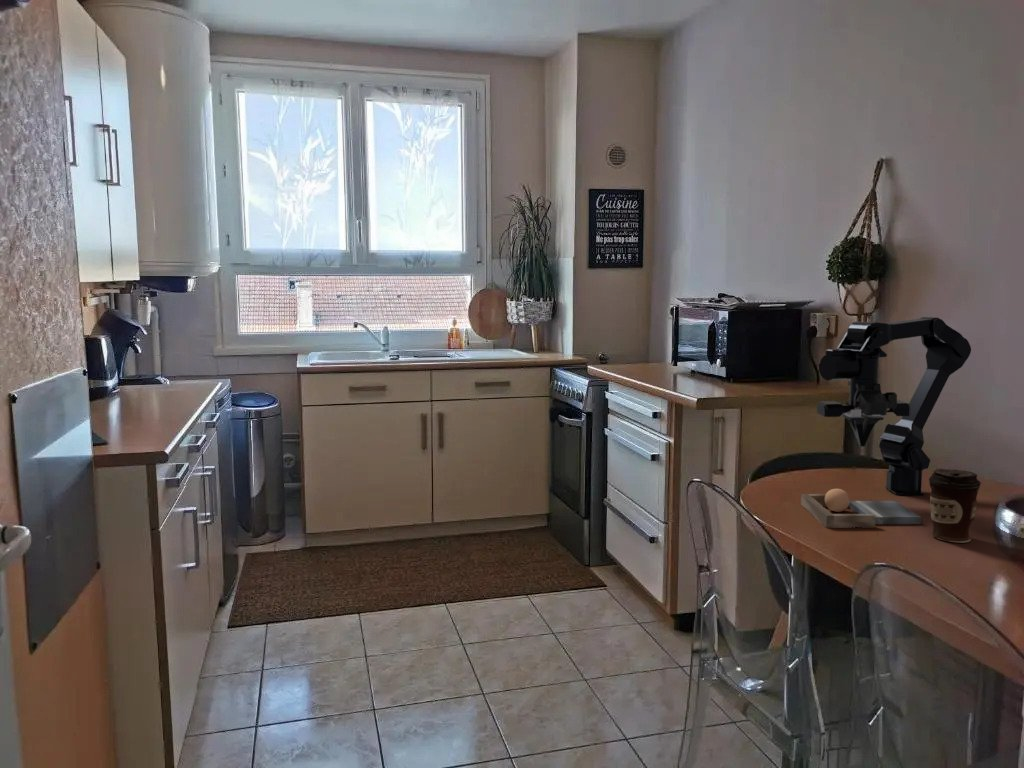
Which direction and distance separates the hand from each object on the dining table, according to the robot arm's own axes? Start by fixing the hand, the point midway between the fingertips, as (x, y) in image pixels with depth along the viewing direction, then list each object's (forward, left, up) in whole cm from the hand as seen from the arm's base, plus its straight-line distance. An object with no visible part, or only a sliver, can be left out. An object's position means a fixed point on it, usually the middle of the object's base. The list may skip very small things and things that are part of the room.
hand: (861, 446), depth 175 cm
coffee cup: (-6, +29, -12) cm, 32 cm away
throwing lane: (+5, +14, -12) cm, 19 cm away
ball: (+9, +11, -10) cm, 17 cm away
